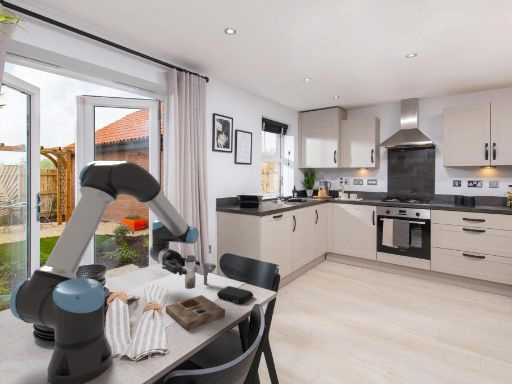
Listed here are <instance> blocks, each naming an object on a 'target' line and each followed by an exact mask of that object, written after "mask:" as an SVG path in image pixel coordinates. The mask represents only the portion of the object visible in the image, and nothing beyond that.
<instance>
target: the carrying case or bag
mask: <svg viewBox="0 0 512 384" xmlns="http://www.w3.org/2000/svg"><path fill="white" fill-rule="evenodd" d="M216 297H218V298H220V299H222V300H226V301H229V302H232V303H235V304H240V305H242V304H246V303H247V302H248V301H249V300H251V299H252V298H253V297H254V293H253V292H252V291H251V290H247V289H243V288H239V287H234V286H231V285H229V286H226V287H224V288H222V289H220V290H218V291H217V292H216ZM246 301H247V302H246Z"/></svg>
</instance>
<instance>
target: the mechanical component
mask: <svg viewBox="0 0 512 384" xmlns="http://www.w3.org/2000/svg"><path fill="white" fill-rule="evenodd" d="M200 266H201V267H202V268H204V275H202V276H203V285H207V284H208V275H209V274H211V273H213V272H214V271H215V269H216V268H217V265H216V263H209V262H203V263H202V264H201V265H200Z"/></svg>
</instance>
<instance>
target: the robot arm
mask: <svg viewBox="0 0 512 384" xmlns="http://www.w3.org/2000/svg"><path fill="white" fill-rule="evenodd" d="M78 180H79V186H80V187H79V192H80V194H81V197H80V198H79V201H78V202H77V203H76V206H75V207H74V210H73V211H72V213H71V215H70V217H69V219H68V221H67V222H66V224H65V226H64V228H63V230H62V232H61V234H60V236H59V237H58V239H57V241H56V243H55V245H54V247H53V248H52V251H51V252H50V254H49V256H48V258H47V260H46V262H44V265H42V266H41V267H38V268H35V270H34V271H33V273H32V275H31V277H30V278H26V279H25V280H24V281H20V283H19V284H17V286H16V287H14V288H13V291H12V292H11V294H10V299H9V309H10V311H11V314H12V315H13V316H14V317H15V318H16V319H17V320H21V321H22V322H23V323H24V322H25V323H26V324H33V325H34V324H35V325H38V326H42V327H46V328H50V329H53V330H54V348H53V351H52V354H51V358H50V359H49V363H48V366H47V380H48V381H49V383H50V384H84V383H86V382H89V381H91V380H94V379H95V378H97V377H98V376H100V375H101V374H102V373H104V372H105V371H106V370H108V368H109V366H110V365H111V364H112V360H113V351H112V348H111V346H110V343H109V340H108V339H107V338H108V337H107V336H106V333H105V308H106V307H105V306H106V305H105V303H106V302H105V300H106V296H105V292H104V291H105V290H104V286H103V285H102V283H101V282H100V281H99V280H96V279H93V278H86V277H83V278H80V277H79V278H78V277H77V271H78V270H79V268H80V265H81V263H82V260H83V258H84V256H85V254H86V252H87V251H88V248H89V246H90V244H91V242H92V240H93V237H94V235H95V234H96V231H97V230H98V227H99V225H100V223H101V221H102V220H103V219H102V218H103V217H104V215H105V212H106V210H107V208H108V207H109V206H110V205H113V204H115V203H116V201H117V199H118V196H119V195H127V196H130V197H133V198H135V199H136V200H137V202H139V203H141V204H142V203H143V204H145V206H146V207H147V208H148V209H149V211H151V212H152V213H153V214H154V216H155V217H156V218H157V219H156V220H153V221H152V226H151V227H152V229H151V238H152V241H151V242H152V245H151V246H150V248H149V250H148V252H149V256H150V258H151V259H153V261H156V262H158V263H159V264H161V268H162V270H166V271H168V272H170V273H172V274H174V275H177V274H178V276H183V275H184V276H185V275H186V276H188V277H189V278H193V271H192V270H190V269H188V268H187V267H185V256H182V255H181V254H180V253H179V252H178V251H176V250H174V249H171V248H170V243H180V244H186V245H190V244H191V245H194V244H196V243H197V242H198V240H199V236H200V233H199V229H198V228H197V227H195V226H189V224H188V223H187V222H186V220H185V219H184V218H183V216H182V215H181V214H180V213H179V212H178V210H177V209H176V207H175V206H174V205H173V204H172V203H171V201H170V200H169V199H168V197H167V196H166V195H165V194H164V192H163V191H162V186H161V184H160V182H159V181H158V180H157V179H156V178H155V176H153V174H152V173H150V172H149V171H148V170H147V169H146V168H144V167H143V166H141V165H139V164H138V163H136V162H132V161H129V160H123V161H120V160H118V161H117V160H116V161H115V160H114V161H113V160H112V161H111V160H110V161H107V160H97V161H92V162H91V161H90V162H89V163H87V164H86V165H85V166H83V168H82V169H81V171H80V172H79V177H78ZM201 266H202V265H201V262H200V261H199V260H197V259H195V274H196V273H197V274H199V275H200V276H203V275H204V268H202V267H201Z"/></svg>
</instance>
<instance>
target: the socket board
mask: <svg viewBox="0 0 512 384" xmlns="http://www.w3.org/2000/svg"><path fill="white" fill-rule="evenodd" d="M165 313H166V314H167V315H168V316H169V317H170V318H171V319H173V321H175V322H176V323H177V324H178V325H179V326H181V327H182V328H183V329H184V330H185V331H189V330H192V329H195V328H197V327H200V326H203V325H205V324H208V323H211V322H214V321H216V320H218V319H221V318H224V317H225V316H226V309H225V308H223V307H222V306H220V305H218V304H217V303H215V302H214V301H212V300H211V299H209V298H207V297H206V296H204V295H202V294H201V295H197V296H194V297H192V298H191V297H190V298H187V299H184V300H181V301H178V302H175V303H172V304H168V305H165Z"/></svg>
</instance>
